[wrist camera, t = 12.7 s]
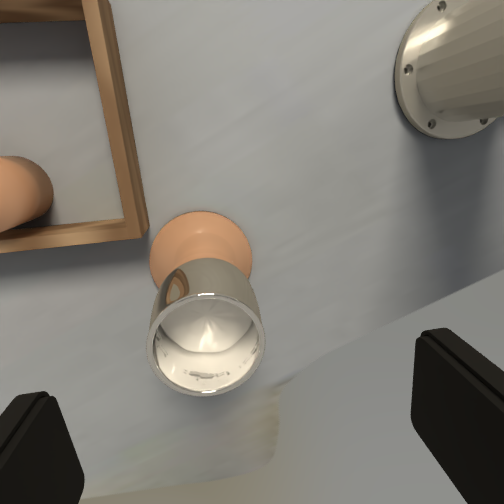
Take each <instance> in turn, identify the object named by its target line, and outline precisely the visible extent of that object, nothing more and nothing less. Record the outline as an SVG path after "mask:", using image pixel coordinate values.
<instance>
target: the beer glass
mask: <svg viewBox="0 0 504 504" xmlns="http://www.w3.org/2000/svg"><path fill="white" fill-rule="evenodd" d="M264 351H265V333H264V329H263V326H262V321H261V315H260V310H259V306H258V303H257V299H256V296H255V293H254V291H253V289H252V287H251V284H250V282H249V281H248V279H247V278H246V276H245V275H244V274H243V272H242V271H241V270H240V269H239V267H238V266H237V265H236V255H235V252H234V249H233V247H232V246H231V244H230V243H229V242H228V241H227V240H226V239H224V238H223V237H221V236H220V235H217V234H215V233H211V232H200V233H195V234H193V235H190V236H189V237H187V238H186V239H184V240H183V241H182V242H181V243H180V244H179V246H178V247H177V249H176V252H175V255H174V267H173V268H172V269H171V271H170V272H169V273H168V275H167V276H166V278H165V279H164V280H163V282H162V284H161V286H160V288H159V290H158V293H157V295H156V298H155V301H154V305H153V309H152V313H151V319H150V326H149V333H148V336H147V341H146V353H147V358H148V362H149V364H150V367H151V369H152V370H153V372H154V373H155V375H156V376H157V377H158V378H159V379H160V380H161V381H162V382H163V383H164V384H165V385H167V386H168V387H170V388H171V389H173V390H175V391H177V392H180V393H183V394H186V395H191V396H201V397H205V396H214V395H219V394H223V393H226V392H228V391H231V390H233V389H235V388H237V387H238V386H240V385H241V384H243V383H244V382H245V381H247V380H248V379H249V378H250V377H251V376H252V375H253V374H254V372H255V371H256V370H257V368H258V366H259V365H260V363H261V361H262V358H263V355H264Z"/></svg>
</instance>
